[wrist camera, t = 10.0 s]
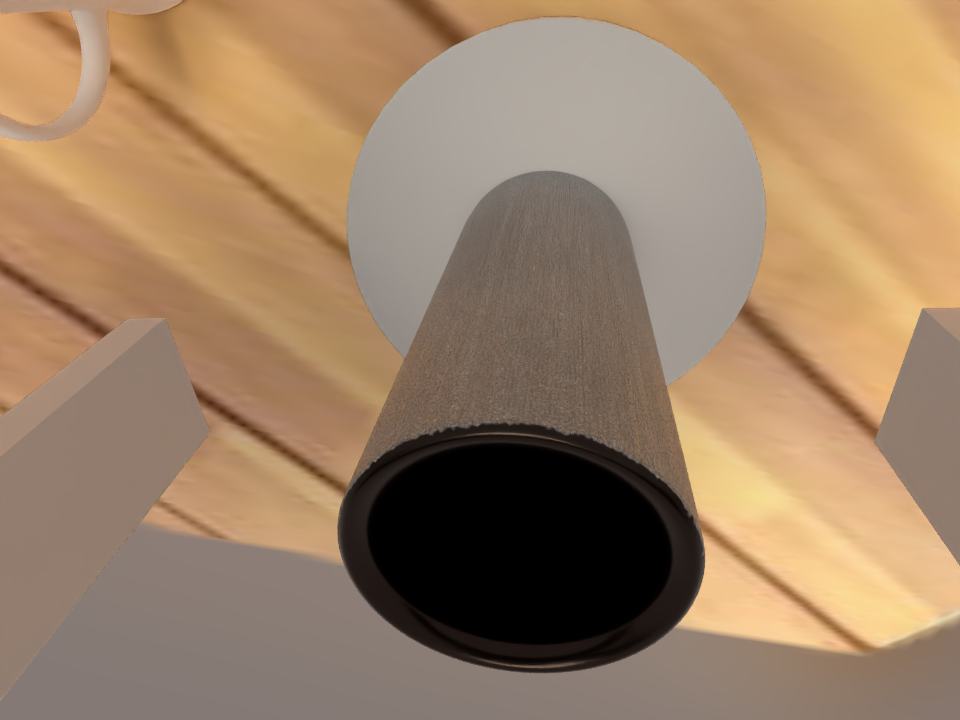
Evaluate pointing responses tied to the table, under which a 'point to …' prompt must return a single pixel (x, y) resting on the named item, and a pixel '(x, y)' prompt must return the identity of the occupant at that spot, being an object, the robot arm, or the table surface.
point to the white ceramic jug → (91, 20)
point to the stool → (564, 170)
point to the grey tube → (529, 450)
